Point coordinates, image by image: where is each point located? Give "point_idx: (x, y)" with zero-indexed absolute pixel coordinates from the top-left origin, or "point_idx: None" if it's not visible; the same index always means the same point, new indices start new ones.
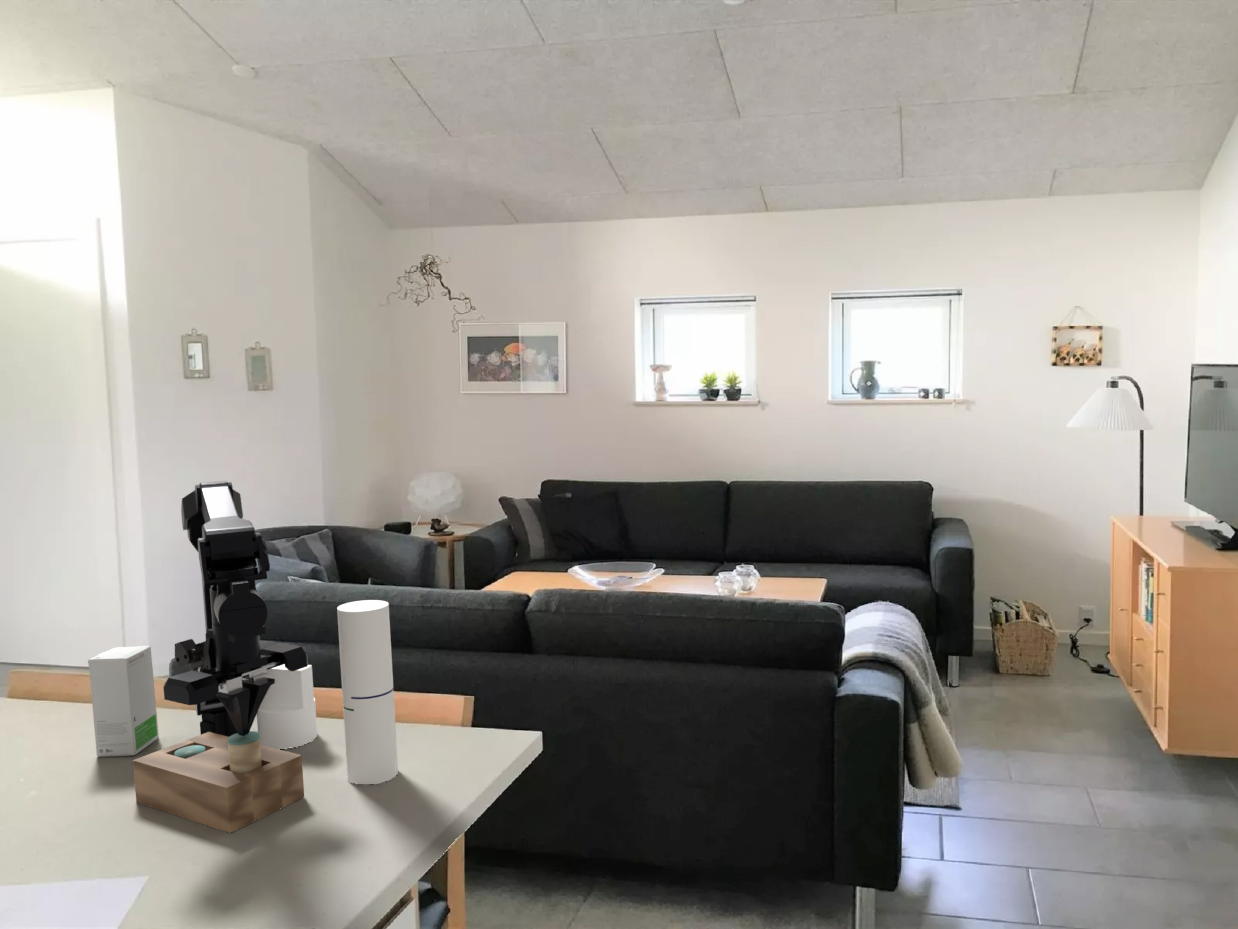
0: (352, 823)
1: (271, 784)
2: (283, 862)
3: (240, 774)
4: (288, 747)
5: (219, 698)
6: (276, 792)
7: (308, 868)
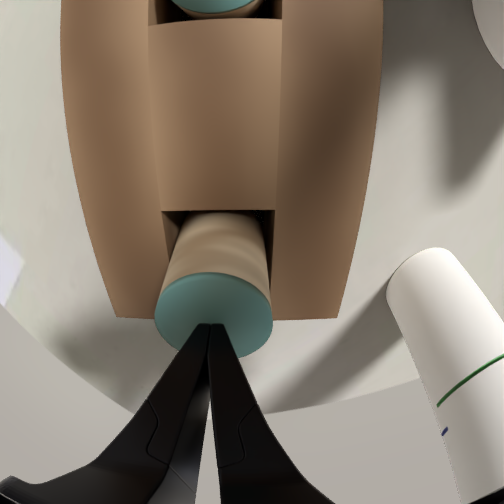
0: (269, 360)
1: None
2: (152, 359)
3: None
4: (490, 50)
5: (90, 468)
6: None
7: None
